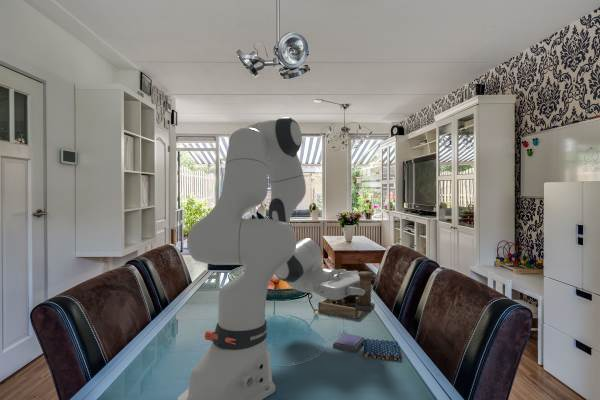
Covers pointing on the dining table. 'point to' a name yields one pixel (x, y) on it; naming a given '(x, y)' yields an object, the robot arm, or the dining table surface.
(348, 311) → the wooden tray
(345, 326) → the dining table surface
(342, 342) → the pad
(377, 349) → the woven mat
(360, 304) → the stamp
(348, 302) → the pottery mug
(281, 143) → the robot arm
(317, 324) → the dining table surface
